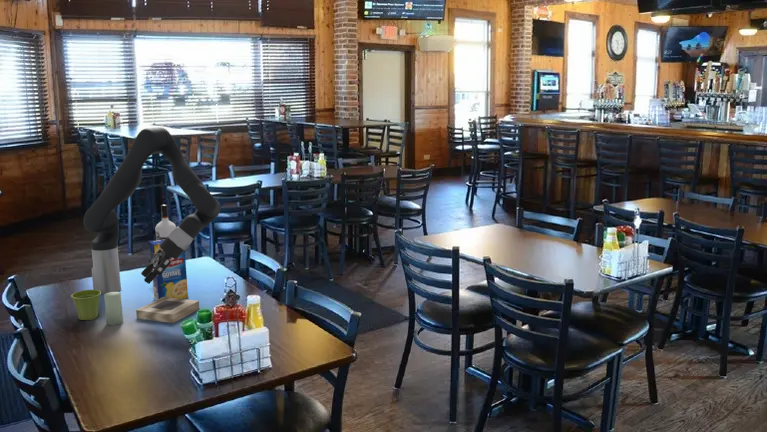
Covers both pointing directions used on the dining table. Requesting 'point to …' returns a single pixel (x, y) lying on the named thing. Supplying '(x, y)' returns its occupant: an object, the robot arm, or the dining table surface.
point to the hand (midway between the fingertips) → (144, 278)
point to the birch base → (167, 309)
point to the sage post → (113, 308)
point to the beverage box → (170, 276)
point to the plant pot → (87, 303)
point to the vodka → (164, 225)
